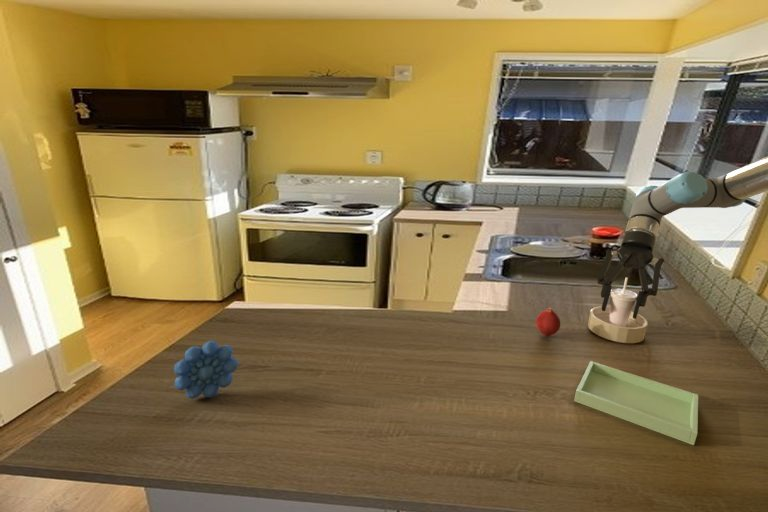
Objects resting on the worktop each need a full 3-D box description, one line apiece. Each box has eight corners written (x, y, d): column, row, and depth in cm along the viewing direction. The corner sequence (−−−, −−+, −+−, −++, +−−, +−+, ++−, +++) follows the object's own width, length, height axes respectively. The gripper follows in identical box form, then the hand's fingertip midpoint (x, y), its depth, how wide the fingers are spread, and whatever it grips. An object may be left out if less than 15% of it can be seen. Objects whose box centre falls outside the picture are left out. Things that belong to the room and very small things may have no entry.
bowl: (646, 330, 114) (650, 314, 112) (640, 350, 103) (644, 333, 102) (593, 316, 121) (596, 301, 120) (583, 333, 111) (585, 318, 109)
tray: (695, 405, 84) (698, 394, 83) (693, 445, 73) (697, 433, 72) (588, 370, 94) (590, 360, 94) (573, 401, 84) (576, 390, 83)
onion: (538, 328, 113) (542, 301, 110) (560, 335, 110) (565, 307, 107) (531, 337, 108) (535, 308, 106) (554, 344, 105) (559, 314, 103)
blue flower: (241, 379, 88) (236, 327, 84) (240, 399, 82) (235, 344, 78) (180, 388, 85) (172, 334, 81) (174, 409, 79) (166, 352, 75)
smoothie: (600, 326, 111) (610, 277, 107) (607, 319, 116) (617, 271, 112) (626, 335, 107) (638, 283, 103) (633, 326, 112) (644, 277, 107)
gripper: (680, 251, 112) (662, 329, 105) (600, 238, 123) (578, 308, 115) (684, 235, 107) (665, 317, 99) (600, 223, 117) (577, 296, 110)
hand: (618, 312), depth 107 cm, fingers closed on smoothie, 6 cm apart
